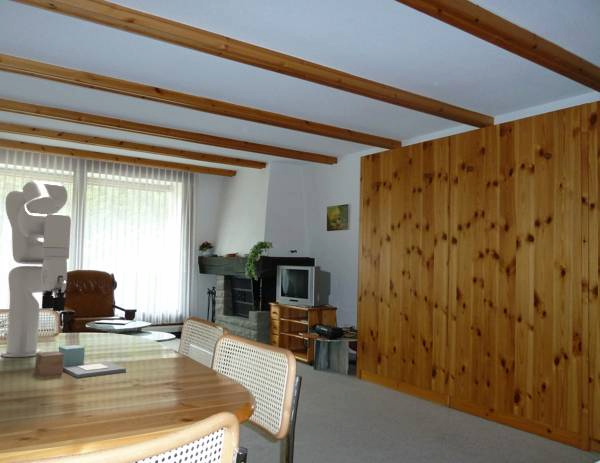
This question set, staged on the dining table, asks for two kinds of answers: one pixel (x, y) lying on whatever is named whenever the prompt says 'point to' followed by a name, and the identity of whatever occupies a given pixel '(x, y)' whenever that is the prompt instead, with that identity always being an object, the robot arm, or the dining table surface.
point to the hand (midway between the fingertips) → (52, 309)
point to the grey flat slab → (93, 369)
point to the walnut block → (49, 363)
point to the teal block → (72, 354)
